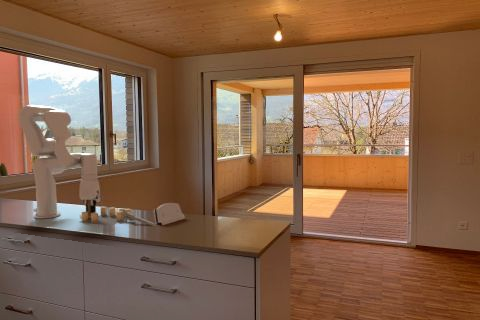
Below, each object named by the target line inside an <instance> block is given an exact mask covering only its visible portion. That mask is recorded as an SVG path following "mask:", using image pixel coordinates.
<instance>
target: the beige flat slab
mask: <svg viewBox="0 0 480 320" xmlns="http://www.w3.org/2000/svg"><path fill="white" fill-rule="evenodd" d="M152 212H153V217H154V224H155V225H158V224H160V223H161V225H162V226H163V225H168V224H171V223H174V222H177V221H181V220H186V217H185V214H184V213H183V212H182V209H181V207H180V203H177V202H168V203H163V204H160V205H158V206H157V207H156V208H154V209H153V211H152Z"/></svg>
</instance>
